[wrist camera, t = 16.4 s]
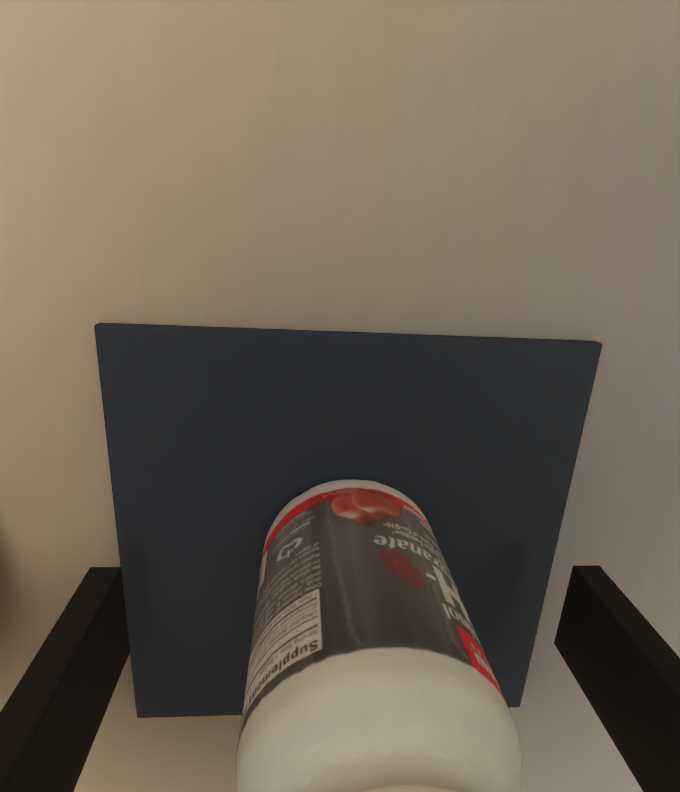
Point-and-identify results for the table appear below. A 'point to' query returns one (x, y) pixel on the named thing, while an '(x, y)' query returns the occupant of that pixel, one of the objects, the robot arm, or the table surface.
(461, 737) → the pill bottle
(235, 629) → the mat
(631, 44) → the table surface
